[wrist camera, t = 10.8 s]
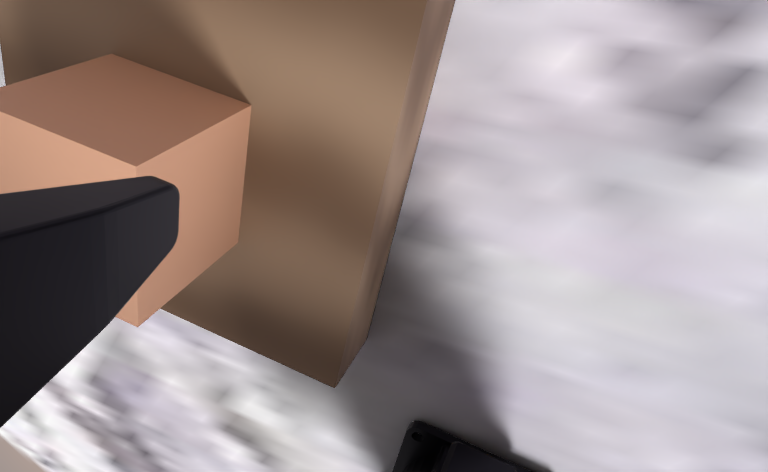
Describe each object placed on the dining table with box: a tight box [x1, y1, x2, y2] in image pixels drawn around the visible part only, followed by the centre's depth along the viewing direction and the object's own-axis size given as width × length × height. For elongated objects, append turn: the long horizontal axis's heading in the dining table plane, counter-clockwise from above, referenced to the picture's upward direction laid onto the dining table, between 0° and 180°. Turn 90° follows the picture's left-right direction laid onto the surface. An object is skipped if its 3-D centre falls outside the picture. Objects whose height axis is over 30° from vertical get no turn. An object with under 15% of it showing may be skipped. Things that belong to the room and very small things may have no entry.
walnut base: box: [0, 0, 455, 388], centre depth 22 cm, size 14×14×3 cm
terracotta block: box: [0, 54, 251, 327], centre depth 18 cm, size 5×5×5 cm
